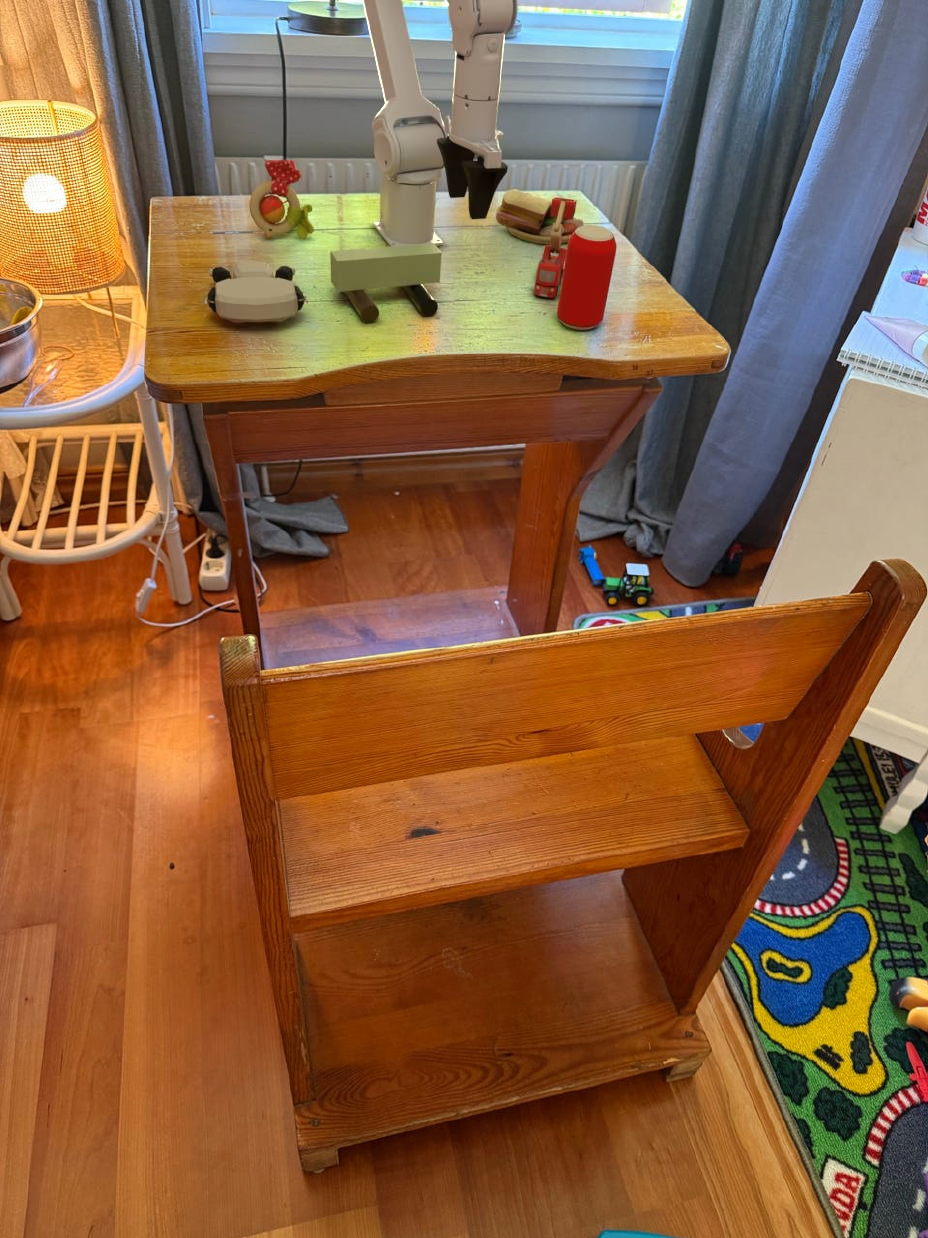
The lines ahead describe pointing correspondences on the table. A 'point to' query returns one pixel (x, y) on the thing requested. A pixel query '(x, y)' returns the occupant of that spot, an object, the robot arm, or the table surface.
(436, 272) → the bar
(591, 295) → the beverage can
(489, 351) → the table surface
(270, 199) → the bird rattle
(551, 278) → the toy fire truck
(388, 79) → the robot arm
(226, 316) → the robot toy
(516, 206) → the toy sandwich meal
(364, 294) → the walnut rod
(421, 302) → the black rod
